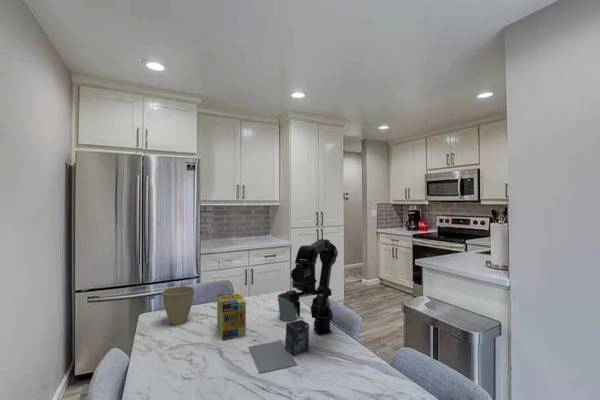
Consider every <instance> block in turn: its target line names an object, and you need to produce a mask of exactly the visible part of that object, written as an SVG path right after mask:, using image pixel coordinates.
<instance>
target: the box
mask: <svg viewBox="0 0 600 400" xmlns="http://www.w3.org/2000/svg"><path fill="white" fill-rule="evenodd" d="M285 323H286V324H285V343H284V346H285V350H287V351H288V352H289V353H290V354H291V356H294V355H297V354H300V353H305V352H308V351H309V347H310V343H309V342H310V324H309V323H308V322H307V321H305V320H303V319H300V320H295V321H292V322H285Z"/></svg>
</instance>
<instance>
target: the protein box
mask: <svg viewBox="0 0 600 400" xmlns="http://www.w3.org/2000/svg"><path fill="white" fill-rule="evenodd" d="M216 298H217V299H216V300H217V302H216V303H217V304H216V307H217V308H216V309H217V311H216V316H217V317H216V319H217V320H216V322H217V324H216V327H217V330H218V333H219V335H220V337H221V340H222V341H227V340H232V339H237V338H243V337H246V336H247V334H246V333H247V328H246V327H247V325H246V324H247V321H246V320H247V317H246V316H247V314H246V312H247V311H246V309H247V308H246V300H245V299H244V298H243V296H242V295H241V293H240V292H231V293H230V292H229V293H221V294H217V295H216Z"/></svg>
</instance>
